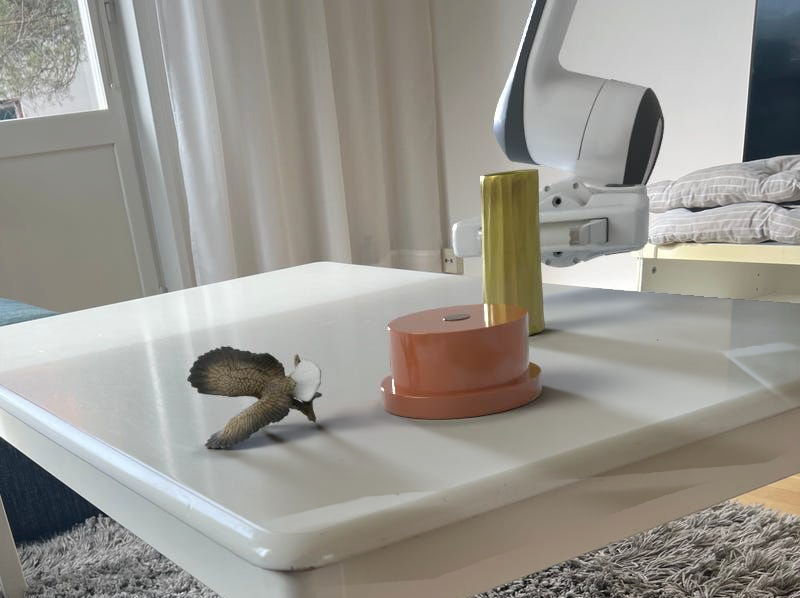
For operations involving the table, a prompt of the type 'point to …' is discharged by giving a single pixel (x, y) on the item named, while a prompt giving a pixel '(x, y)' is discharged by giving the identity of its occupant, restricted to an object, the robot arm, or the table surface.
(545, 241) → the robot arm
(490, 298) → the vase
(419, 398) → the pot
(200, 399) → the table surface
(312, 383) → the eagle figurine
